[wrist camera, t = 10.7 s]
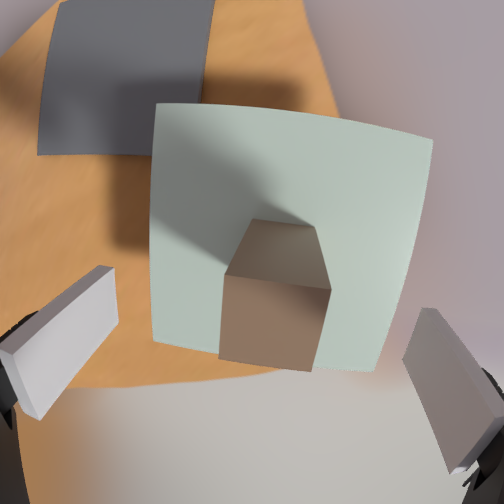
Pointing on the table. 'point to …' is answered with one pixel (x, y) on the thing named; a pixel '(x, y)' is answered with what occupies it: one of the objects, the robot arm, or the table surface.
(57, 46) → the mat
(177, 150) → the lid
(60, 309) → the robot arm
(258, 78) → the table surface
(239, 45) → the table surface
